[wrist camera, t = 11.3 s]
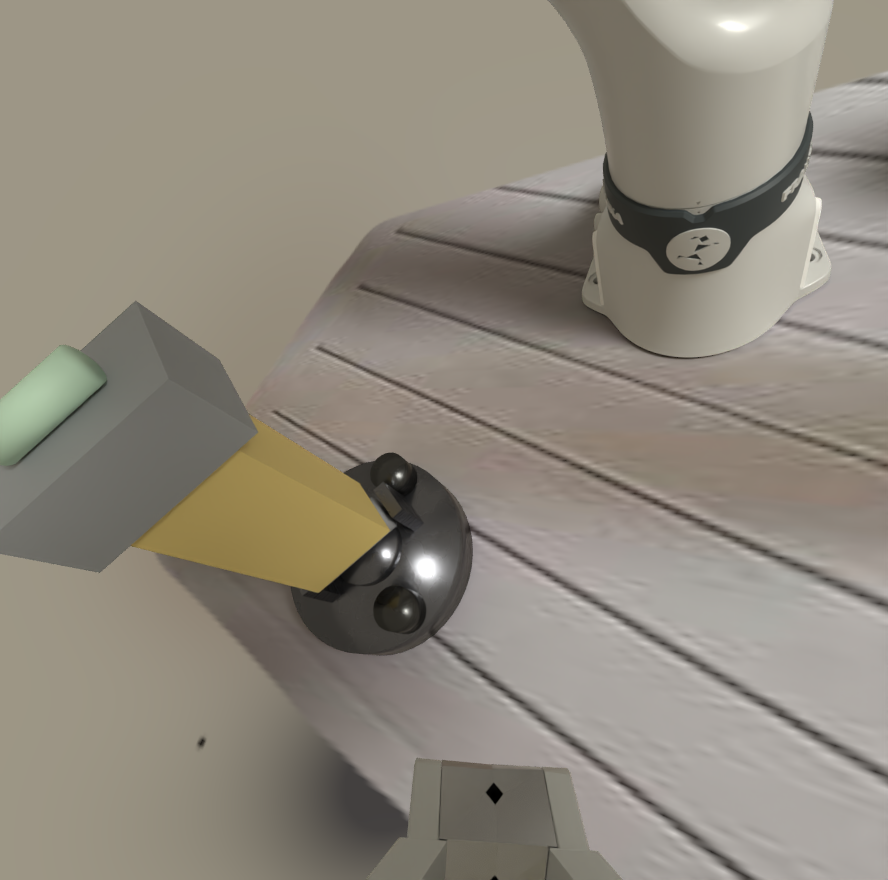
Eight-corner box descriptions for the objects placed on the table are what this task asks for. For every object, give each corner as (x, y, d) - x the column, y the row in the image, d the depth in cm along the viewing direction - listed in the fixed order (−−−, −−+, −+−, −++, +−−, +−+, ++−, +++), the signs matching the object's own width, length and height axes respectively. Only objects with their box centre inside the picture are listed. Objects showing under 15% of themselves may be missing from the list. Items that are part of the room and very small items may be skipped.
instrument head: (290, 539, 44) (-82, 401, 23) (377, 463, 44) (85, 249, 22) (329, 616, 40) (-86, 537, 18) (426, 532, 40) (121, 350, 18)
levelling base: (285, 547, 50) (233, 529, 44) (409, 438, 49) (373, 405, 44) (359, 698, 41) (306, 700, 35) (511, 568, 41) (482, 549, 35)
